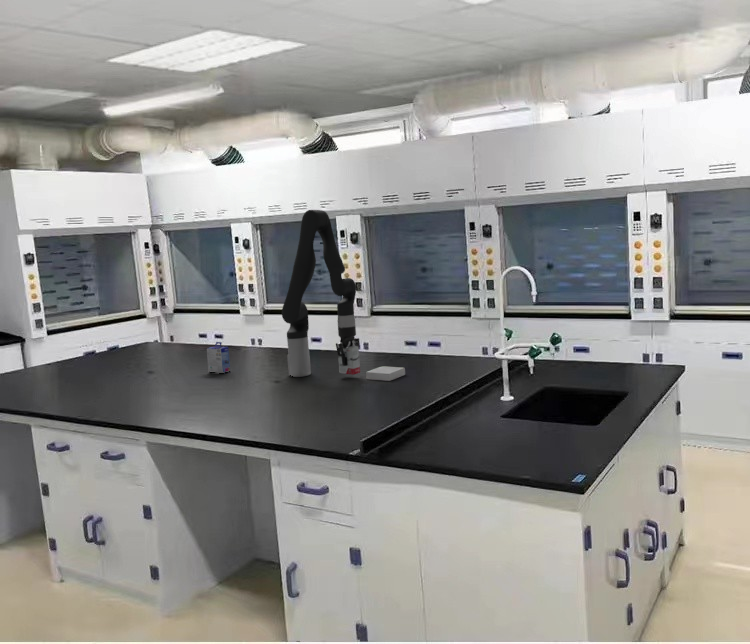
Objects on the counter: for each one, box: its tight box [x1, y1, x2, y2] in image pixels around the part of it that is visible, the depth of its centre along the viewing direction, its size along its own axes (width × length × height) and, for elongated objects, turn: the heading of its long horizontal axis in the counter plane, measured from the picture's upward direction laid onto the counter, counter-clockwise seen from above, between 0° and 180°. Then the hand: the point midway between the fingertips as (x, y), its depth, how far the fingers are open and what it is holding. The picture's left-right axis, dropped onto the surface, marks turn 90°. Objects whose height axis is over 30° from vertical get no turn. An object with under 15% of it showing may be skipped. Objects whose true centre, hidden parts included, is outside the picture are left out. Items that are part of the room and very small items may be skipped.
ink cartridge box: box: [206, 341, 231, 372], centre depth 350 cm, size 10×6×14 cm, turn 58°
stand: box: [365, 365, 406, 382], centre depth 313 cm, size 12×12×3 cm
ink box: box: [337, 346, 361, 375], centre depth 316 cm, size 9×5×12 cm, turn 49°
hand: (349, 363), depth 316 cm, fingers closed on ink box, 5 cm apart
